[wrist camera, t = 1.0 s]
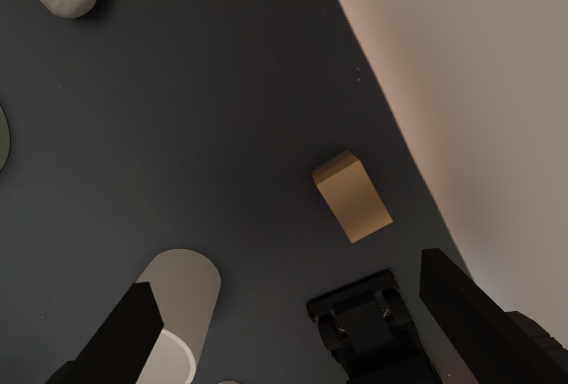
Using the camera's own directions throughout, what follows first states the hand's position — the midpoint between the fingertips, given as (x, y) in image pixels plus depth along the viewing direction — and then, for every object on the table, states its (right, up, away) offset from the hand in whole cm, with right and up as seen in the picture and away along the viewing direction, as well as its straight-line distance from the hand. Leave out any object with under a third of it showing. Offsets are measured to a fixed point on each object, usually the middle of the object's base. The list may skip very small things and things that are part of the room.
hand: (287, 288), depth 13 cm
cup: (-13, -6, +18) cm, 23 cm away
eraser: (+6, +5, +14) cm, 16 cm away
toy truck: (+11, -14, +21) cm, 28 cm away
